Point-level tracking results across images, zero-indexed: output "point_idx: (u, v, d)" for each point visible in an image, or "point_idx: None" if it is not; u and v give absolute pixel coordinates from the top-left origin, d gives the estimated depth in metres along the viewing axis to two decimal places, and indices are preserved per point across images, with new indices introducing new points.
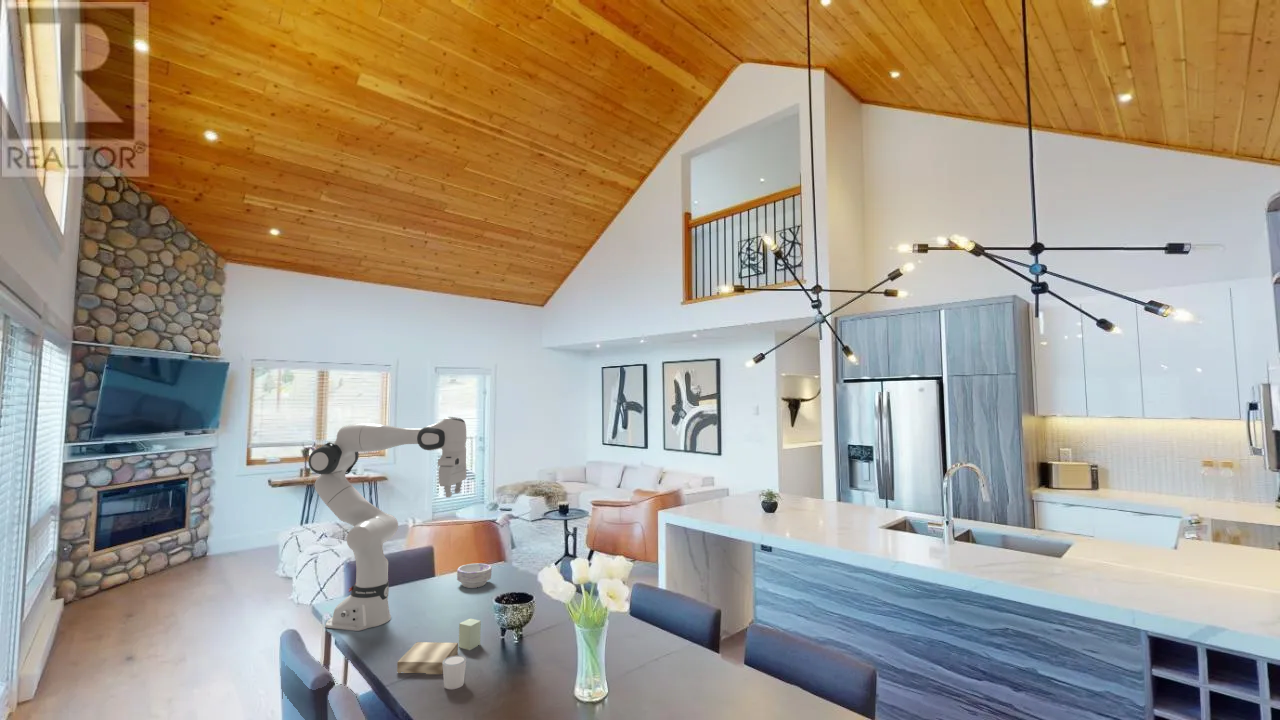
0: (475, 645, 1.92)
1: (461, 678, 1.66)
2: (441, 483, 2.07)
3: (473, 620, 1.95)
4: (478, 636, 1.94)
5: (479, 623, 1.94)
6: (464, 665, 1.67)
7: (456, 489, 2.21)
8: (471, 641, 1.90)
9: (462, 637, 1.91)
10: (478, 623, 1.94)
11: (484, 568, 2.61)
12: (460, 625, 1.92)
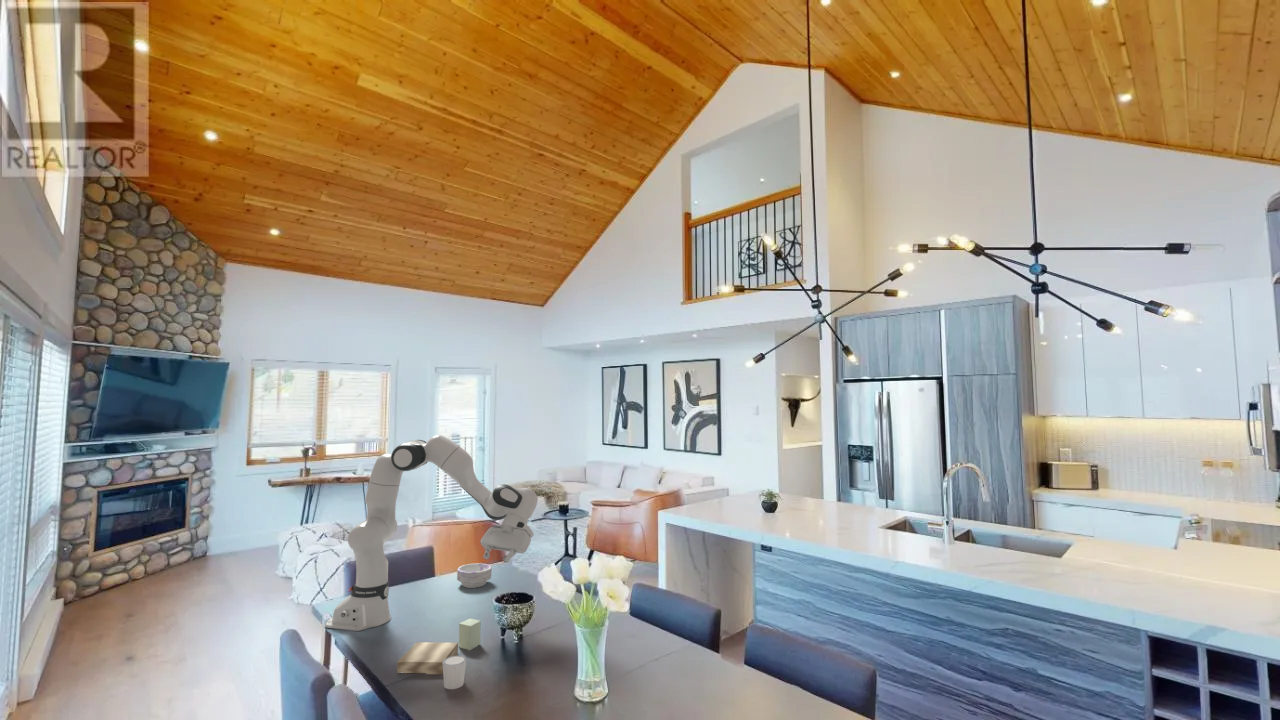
0: (475, 645, 1.92)
1: (461, 678, 1.66)
2: (523, 547, 2.05)
3: (473, 620, 1.95)
4: (478, 636, 1.94)
5: (479, 623, 1.94)
6: (464, 665, 1.67)
7: (488, 554, 2.08)
8: (471, 641, 1.90)
9: (462, 637, 1.91)
10: (478, 623, 1.94)
11: (484, 568, 2.61)
12: (460, 625, 1.92)
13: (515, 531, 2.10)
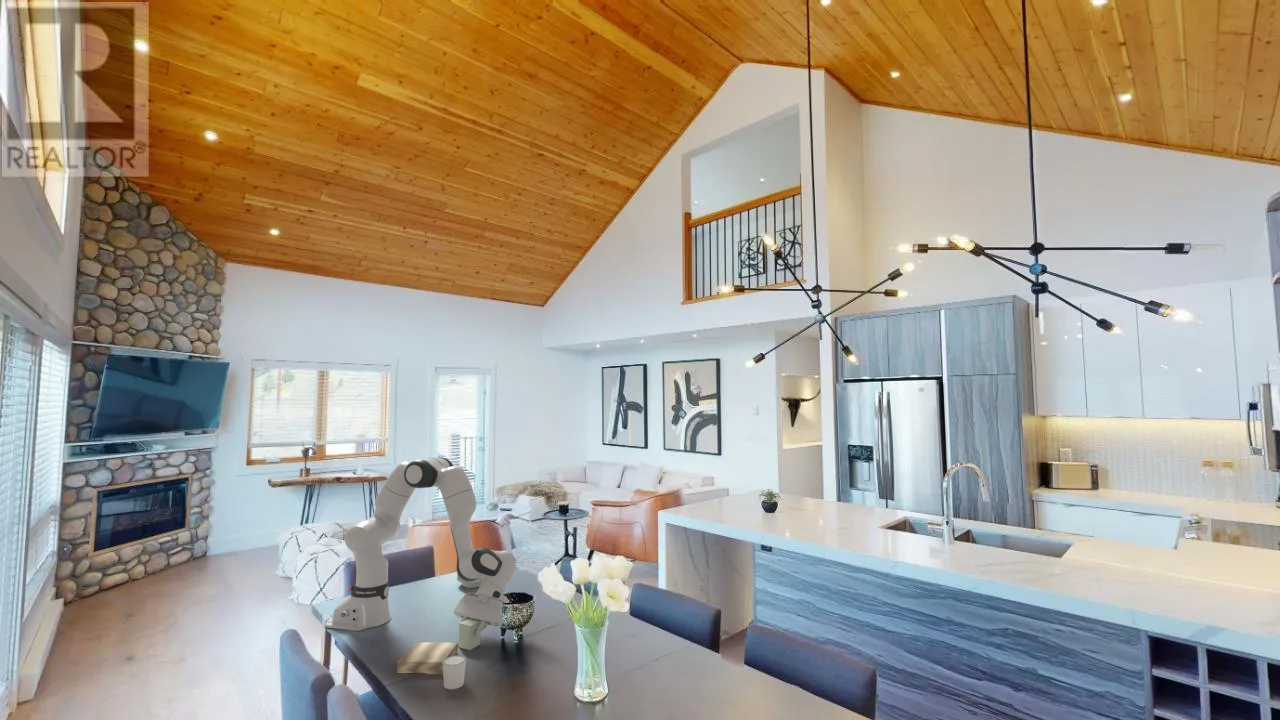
0: (475, 645, 1.92)
1: (461, 678, 1.66)
2: (498, 621, 1.92)
3: (473, 620, 1.95)
4: (478, 636, 1.94)
5: (479, 623, 1.94)
6: (464, 665, 1.67)
7: None
8: (471, 641, 1.90)
9: (462, 637, 1.91)
10: (478, 623, 1.94)
11: None
12: (460, 625, 1.92)
13: (490, 601, 1.97)
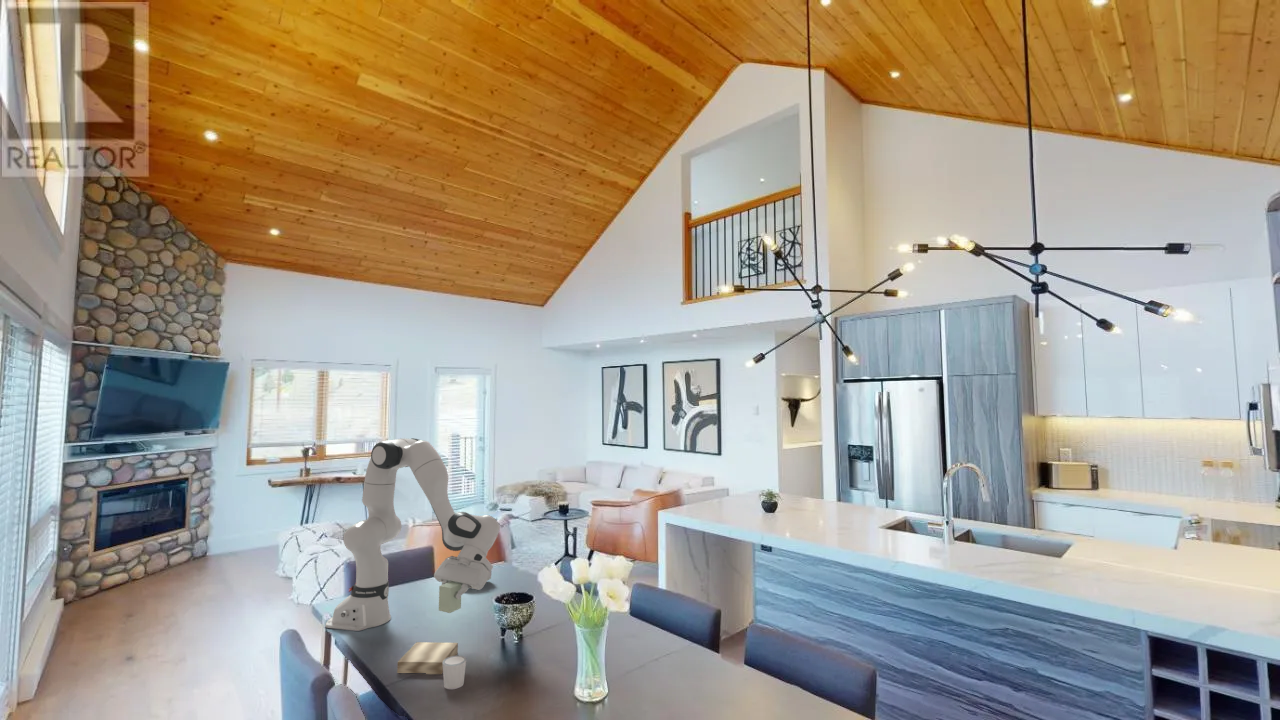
0: (455, 608, 1.86)
1: (461, 678, 1.66)
2: (479, 583, 1.86)
3: (454, 583, 1.89)
4: (459, 599, 1.88)
5: (460, 586, 1.89)
6: (464, 665, 1.67)
7: None
8: (451, 604, 1.85)
9: (442, 600, 1.86)
10: (459, 586, 1.88)
11: None
12: (440, 588, 1.86)
13: (472, 564, 1.91)
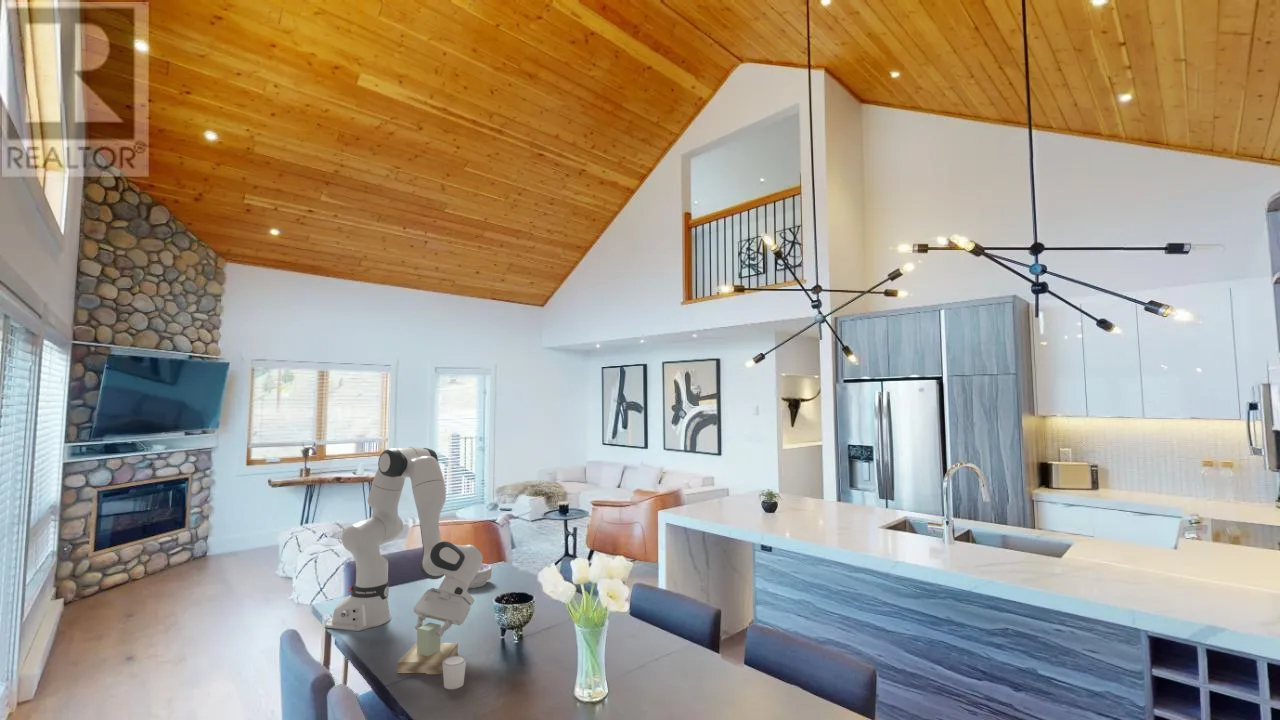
0: (434, 651, 1.79)
1: (461, 678, 1.66)
2: (459, 619, 1.79)
3: (432, 624, 1.82)
4: (438, 641, 1.81)
5: (439, 627, 1.82)
6: (464, 665, 1.67)
7: (420, 625, 1.83)
8: (430, 647, 1.78)
9: (420, 643, 1.79)
10: None
11: (484, 568, 2.61)
12: (418, 630, 1.79)
13: (452, 598, 1.84)
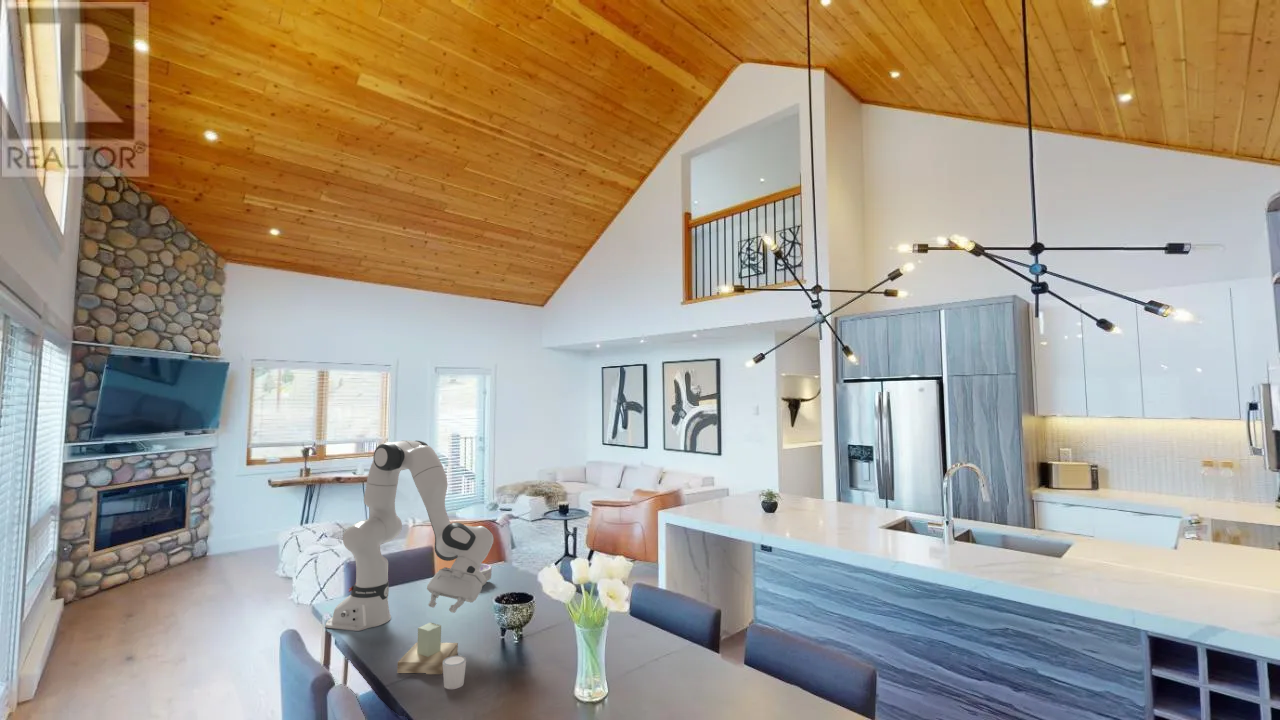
0: (434, 651, 1.79)
1: (461, 678, 1.66)
2: (472, 596, 1.85)
3: (433, 624, 1.82)
4: (439, 641, 1.81)
5: (439, 628, 1.81)
6: (464, 665, 1.67)
7: (434, 602, 1.88)
8: (430, 647, 1.78)
9: (420, 643, 1.79)
10: (438, 628, 1.81)
11: (484, 568, 2.61)
12: (419, 630, 1.80)
13: (465, 577, 1.90)
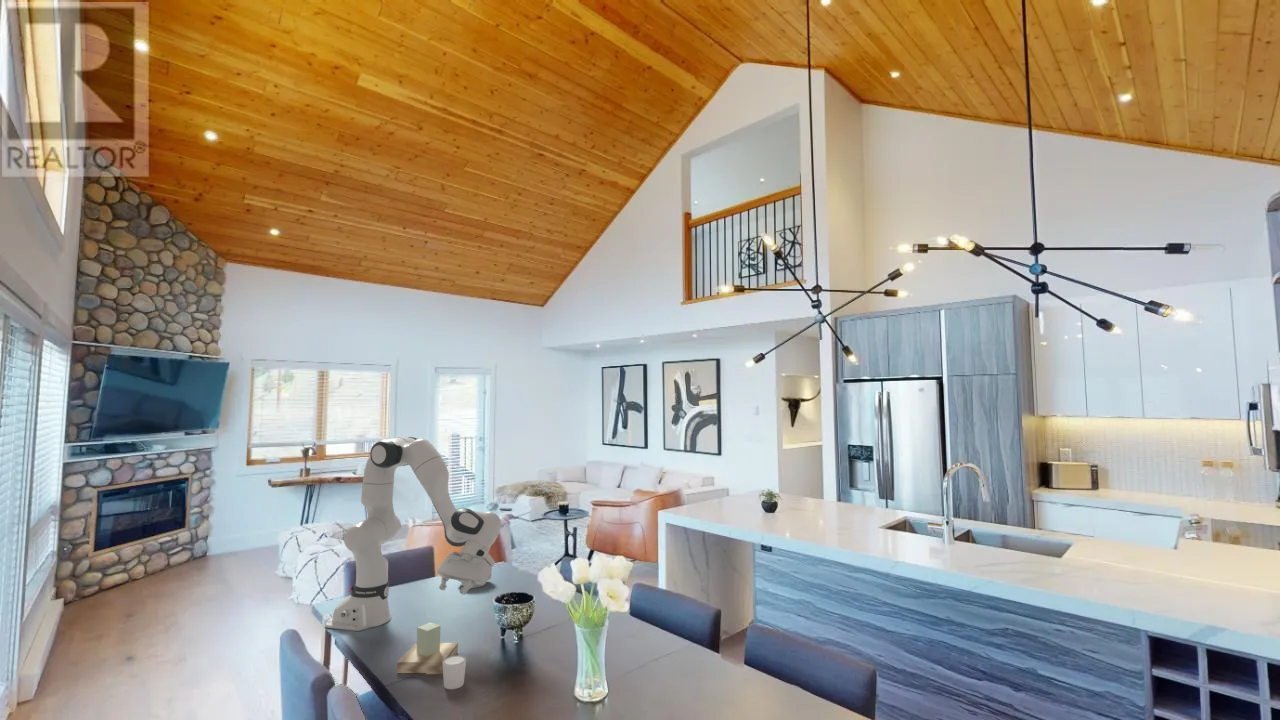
0: (433, 651, 1.79)
1: (461, 678, 1.66)
2: (482, 578, 1.89)
3: (433, 624, 1.82)
4: (438, 641, 1.81)
5: (438, 628, 1.81)
6: (464, 665, 1.67)
7: (444, 585, 1.93)
8: (428, 647, 1.78)
9: (420, 642, 1.79)
10: (437, 628, 1.81)
11: None
12: (418, 629, 1.80)
13: (474, 560, 1.94)
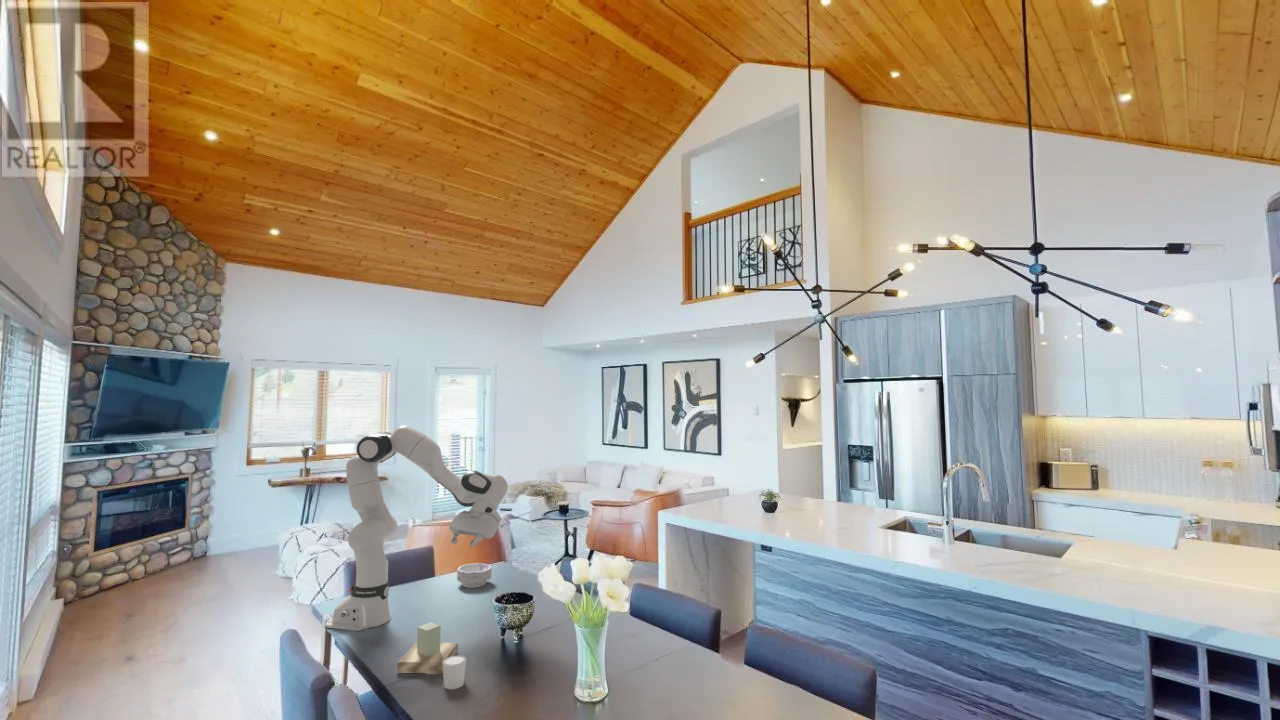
0: (433, 651, 1.79)
1: (461, 678, 1.66)
2: (490, 532, 2.06)
3: (433, 624, 1.83)
4: (438, 641, 1.81)
5: (439, 628, 1.81)
6: (464, 665, 1.67)
7: (456, 539, 2.09)
8: (428, 647, 1.78)
9: (420, 642, 1.79)
10: (437, 628, 1.81)
11: (484, 568, 2.61)
12: (418, 629, 1.80)
13: (483, 516, 2.11)
